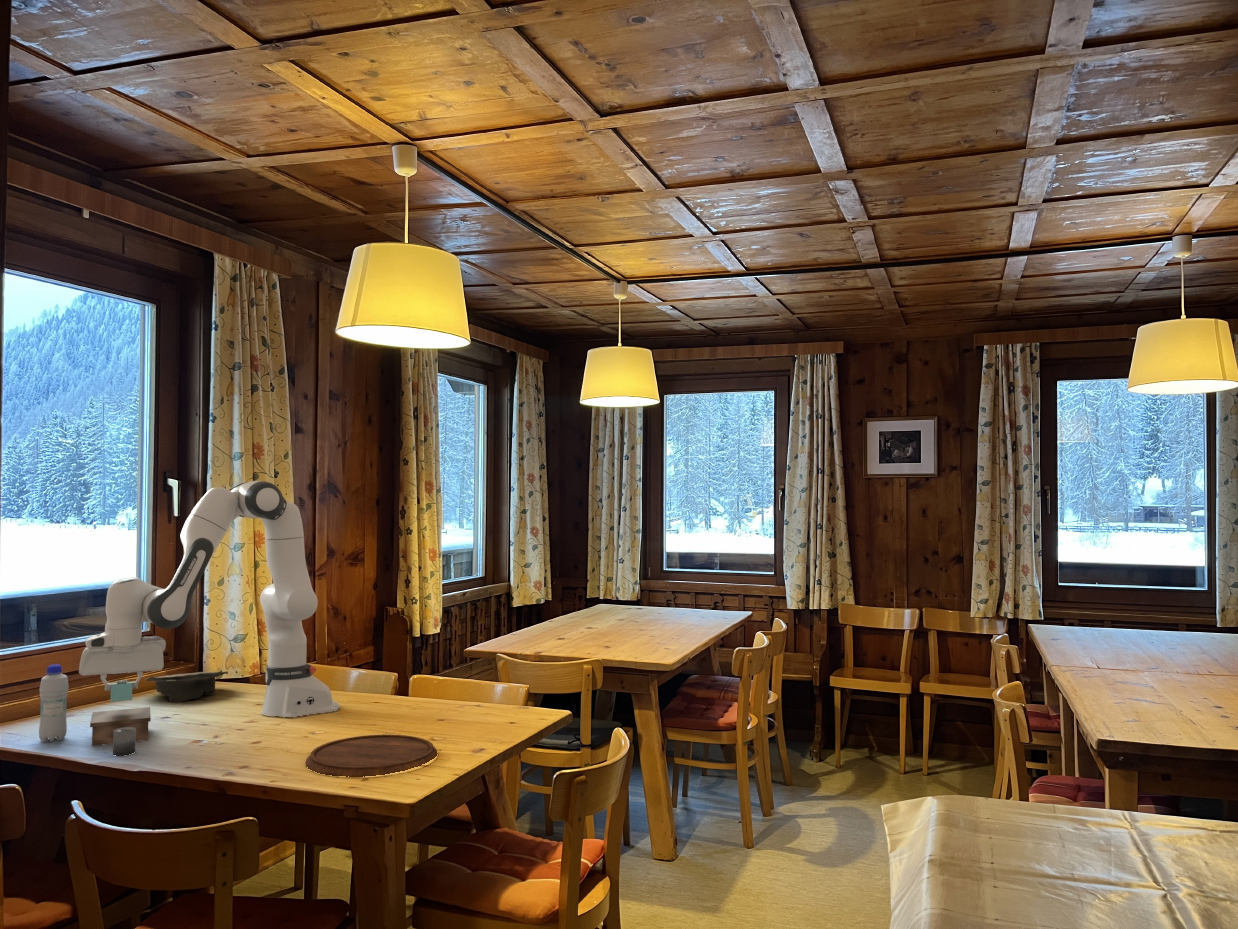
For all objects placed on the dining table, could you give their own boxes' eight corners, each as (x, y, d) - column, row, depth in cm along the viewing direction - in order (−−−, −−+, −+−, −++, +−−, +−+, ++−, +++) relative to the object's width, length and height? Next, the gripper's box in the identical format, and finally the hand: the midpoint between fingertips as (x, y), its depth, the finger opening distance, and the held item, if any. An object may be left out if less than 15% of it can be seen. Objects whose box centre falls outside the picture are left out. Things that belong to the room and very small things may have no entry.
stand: (149, 728, 255) (150, 707, 255) (150, 740, 242) (150, 717, 243) (91, 734, 248) (92, 712, 248) (89, 746, 236) (90, 723, 236)
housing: (131, 698, 250) (131, 678, 251) (131, 700, 243) (132, 679, 243) (110, 700, 248) (111, 680, 249) (110, 702, 240) (111, 681, 241)
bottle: (36, 744, 238) (38, 667, 239) (39, 738, 244) (41, 663, 244) (66, 741, 241) (68, 665, 242) (68, 735, 247) (70, 661, 248)
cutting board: (408, 783, 208) (408, 772, 208) (279, 776, 213) (279, 765, 214) (455, 746, 240) (456, 736, 240) (342, 740, 245) (342, 731, 245)
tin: (135, 750, 233) (135, 726, 234) (135, 754, 229) (135, 730, 229) (112, 752, 231) (113, 728, 231) (112, 757, 227) (113, 733, 227)
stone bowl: (186, 706, 281) (184, 676, 281) (126, 706, 290) (125, 677, 290) (245, 690, 304) (243, 662, 305) (188, 690, 313) (187, 663, 313)
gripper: (165, 634, 254) (164, 684, 253) (80, 638, 244) (78, 690, 244) (166, 637, 248) (164, 688, 248) (79, 641, 239) (77, 695, 238)
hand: (121, 689), depth 246 cm, fingers closed on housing, 5 cm apart
